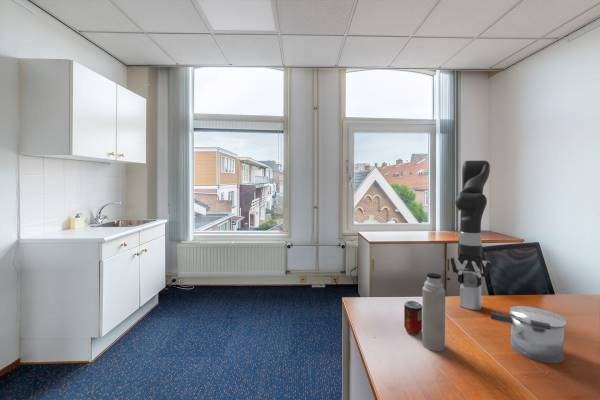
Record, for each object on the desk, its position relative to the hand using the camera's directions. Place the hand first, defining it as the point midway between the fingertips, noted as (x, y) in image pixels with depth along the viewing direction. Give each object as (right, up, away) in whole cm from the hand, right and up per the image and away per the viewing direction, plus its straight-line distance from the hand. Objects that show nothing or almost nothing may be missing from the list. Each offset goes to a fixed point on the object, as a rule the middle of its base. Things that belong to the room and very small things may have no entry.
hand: (469, 284), depth 113 cm
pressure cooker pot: (+18, -22, -6) cm, 29 cm away
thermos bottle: (-16, -23, -4) cm, 28 cm away
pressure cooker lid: (+19, -10, -9) cm, 24 cm away
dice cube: (+1, -1, +1) cm, 1 cm away
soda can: (-20, -22, +7) cm, 31 cm away
